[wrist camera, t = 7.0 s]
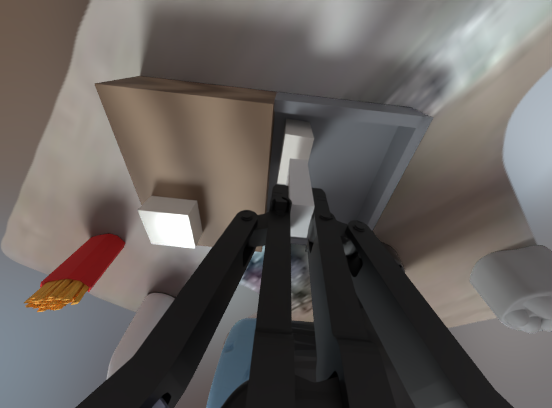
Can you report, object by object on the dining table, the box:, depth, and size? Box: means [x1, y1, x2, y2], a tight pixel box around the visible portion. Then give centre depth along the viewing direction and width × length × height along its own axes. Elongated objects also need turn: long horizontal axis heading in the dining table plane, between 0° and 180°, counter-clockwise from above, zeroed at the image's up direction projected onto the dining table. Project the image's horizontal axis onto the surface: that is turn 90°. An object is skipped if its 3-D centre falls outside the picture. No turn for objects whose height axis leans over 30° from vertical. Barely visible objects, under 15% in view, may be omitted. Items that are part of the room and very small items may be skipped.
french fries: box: [24, 233, 125, 312], centre depth 32 cm, size 8×4×12 cm, turn 107°
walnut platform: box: [95, 76, 277, 252], centre depth 24 cm, size 14×18×6 cm
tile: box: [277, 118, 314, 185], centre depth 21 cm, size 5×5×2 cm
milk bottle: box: [107, 293, 175, 379], centre depth 41 cm, size 8×8×20 cm
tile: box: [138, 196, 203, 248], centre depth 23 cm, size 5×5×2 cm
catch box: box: [266, 92, 433, 245], centre depth 25 cm, size 14×18×4 cm
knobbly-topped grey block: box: [470, 245, 552, 333], centre depth 33 cm, size 10×13×9 cm
